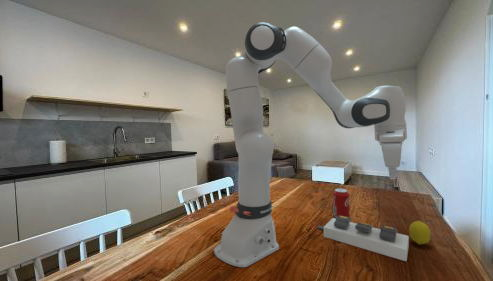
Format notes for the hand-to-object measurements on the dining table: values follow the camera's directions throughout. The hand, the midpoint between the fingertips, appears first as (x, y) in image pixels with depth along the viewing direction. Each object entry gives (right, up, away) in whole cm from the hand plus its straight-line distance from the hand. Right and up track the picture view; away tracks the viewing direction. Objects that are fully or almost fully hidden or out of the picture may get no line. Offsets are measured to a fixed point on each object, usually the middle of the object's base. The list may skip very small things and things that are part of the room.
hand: (392, 175), depth 72 cm
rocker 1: (-14, -18, +6) cm, 23 cm away
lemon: (+8, -23, -1) cm, 24 cm away
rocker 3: (-3, -18, -3) cm, 18 cm away
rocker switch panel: (-10, -23, +3) cm, 25 cm away
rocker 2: (-9, -18, +1) cm, 20 cm away
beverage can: (-8, -22, +22) cm, 32 cm away
